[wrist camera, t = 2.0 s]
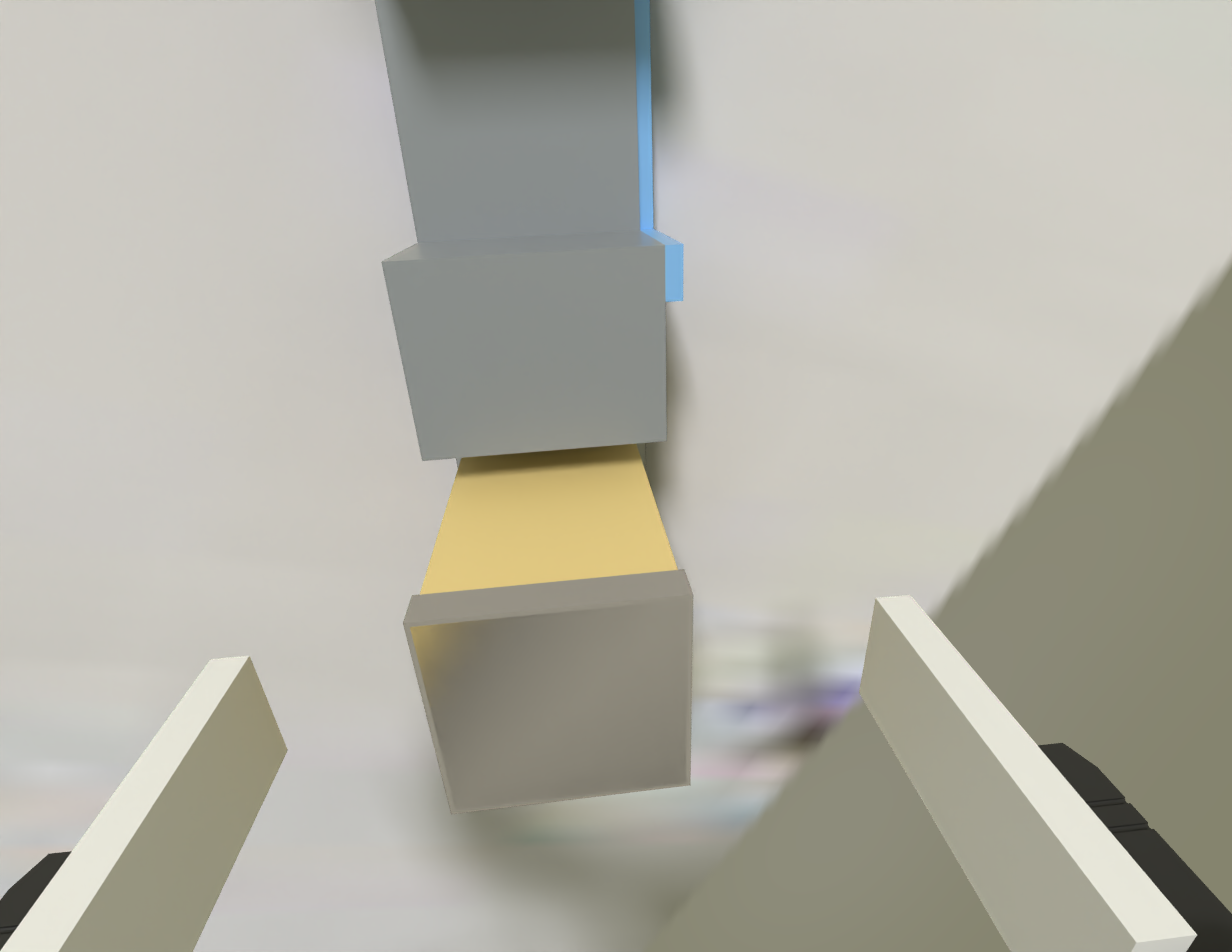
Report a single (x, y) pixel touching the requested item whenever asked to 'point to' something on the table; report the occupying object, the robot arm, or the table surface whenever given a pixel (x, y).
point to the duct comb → (528, 225)
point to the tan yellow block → (554, 633)
